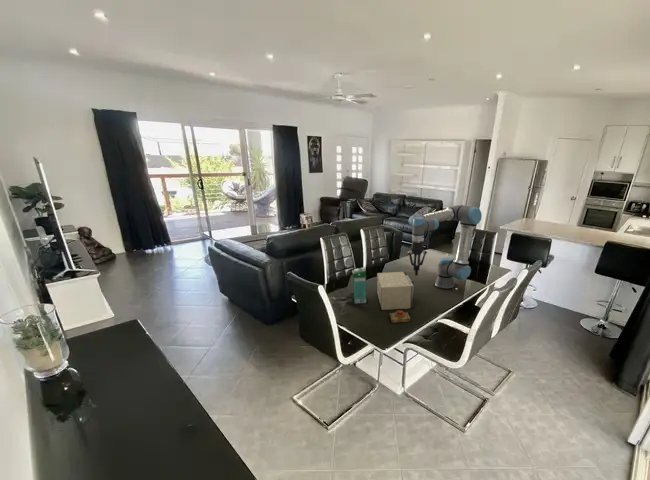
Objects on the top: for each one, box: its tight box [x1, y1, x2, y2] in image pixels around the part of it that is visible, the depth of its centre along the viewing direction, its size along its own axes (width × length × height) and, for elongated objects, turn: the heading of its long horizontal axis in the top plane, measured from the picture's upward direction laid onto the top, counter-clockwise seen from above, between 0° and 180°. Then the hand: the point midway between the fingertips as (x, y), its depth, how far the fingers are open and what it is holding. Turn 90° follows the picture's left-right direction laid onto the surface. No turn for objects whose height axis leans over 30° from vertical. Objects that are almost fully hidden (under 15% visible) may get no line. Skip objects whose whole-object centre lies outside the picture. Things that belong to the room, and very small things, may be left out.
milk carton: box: [352, 266, 368, 305], centre depth 231 cm, size 9×9×25 cm
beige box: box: [376, 271, 411, 311], centre depth 232 cm, size 22×28×17 cm
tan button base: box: [389, 311, 411, 324], centre depth 209 cm, size 12×9×4 cm
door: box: [406, 274, 415, 309], centre depth 230 cm, size 5×21×17 cm, turn 6°
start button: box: [396, 309, 404, 315], centre depth 208 cm, size 4×4×2 cm
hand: (416, 274), depth 219 cm, fingers closed
